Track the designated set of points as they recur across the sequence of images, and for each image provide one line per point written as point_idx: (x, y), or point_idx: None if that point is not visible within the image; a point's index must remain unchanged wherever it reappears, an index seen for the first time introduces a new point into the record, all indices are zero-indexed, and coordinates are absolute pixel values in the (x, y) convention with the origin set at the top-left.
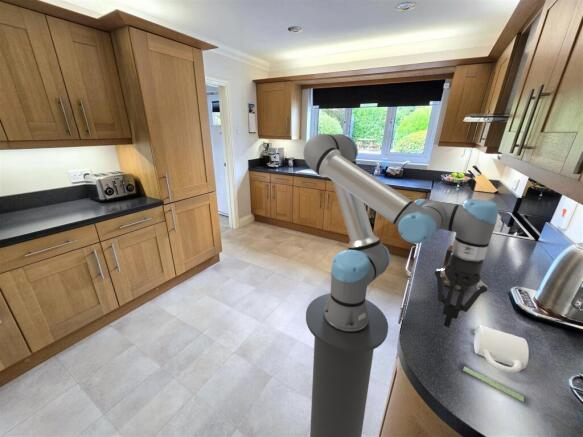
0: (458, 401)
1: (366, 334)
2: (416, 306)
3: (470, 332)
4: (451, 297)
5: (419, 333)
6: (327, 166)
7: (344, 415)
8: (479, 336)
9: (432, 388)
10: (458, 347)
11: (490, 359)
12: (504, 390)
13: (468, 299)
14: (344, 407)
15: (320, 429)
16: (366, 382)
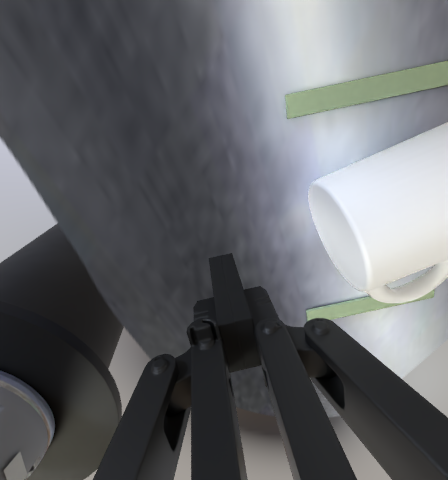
0: (320, 396)
1: (73, 418)
2: (30, 147)
3: (276, 122)
4: (243, 458)
5: (157, 296)
6: None
7: None
8: (351, 263)
9: (273, 411)
10: (271, 249)
11: (382, 300)
12: (397, 304)
13: (358, 400)
14: None
15: None
16: None
